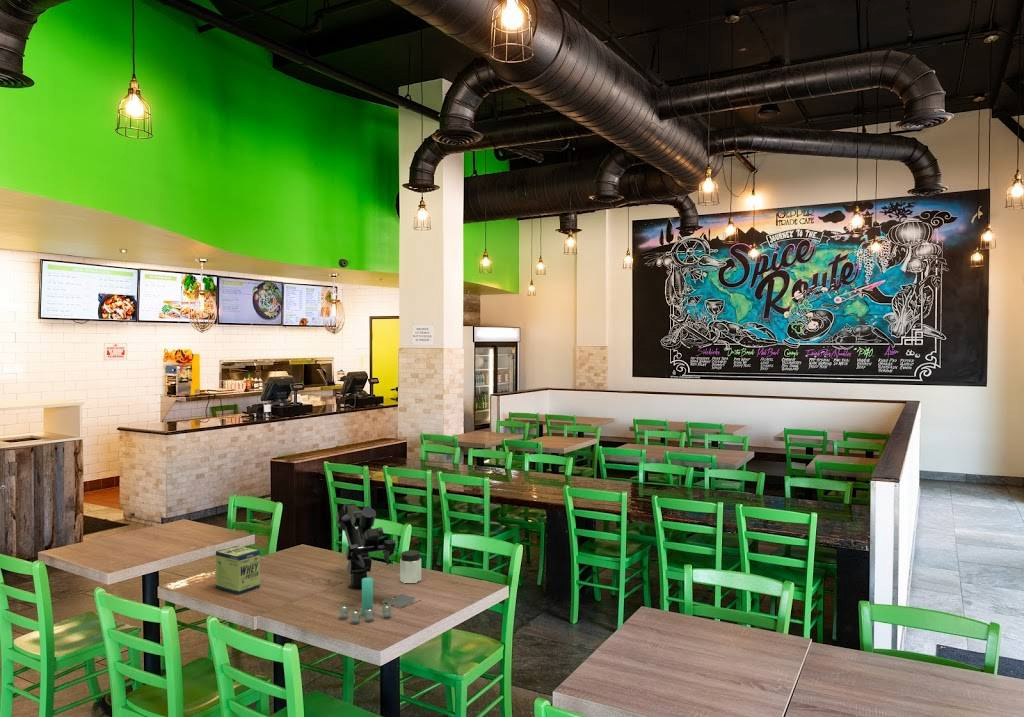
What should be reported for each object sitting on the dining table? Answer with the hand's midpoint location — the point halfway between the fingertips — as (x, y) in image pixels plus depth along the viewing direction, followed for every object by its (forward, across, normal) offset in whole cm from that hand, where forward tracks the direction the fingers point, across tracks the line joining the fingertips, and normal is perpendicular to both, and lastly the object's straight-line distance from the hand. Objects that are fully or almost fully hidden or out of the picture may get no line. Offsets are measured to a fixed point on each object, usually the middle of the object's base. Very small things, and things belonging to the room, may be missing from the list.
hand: (376, 565), depth 269 cm
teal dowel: (+14, -6, +9) cm, 18 cm away
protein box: (-32, -45, +38) cm, 67 cm away
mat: (+8, +10, +13) cm, 18 cm away
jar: (-11, +21, +25) cm, 35 cm away
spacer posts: (+17, -7, +8) cm, 20 cm away
